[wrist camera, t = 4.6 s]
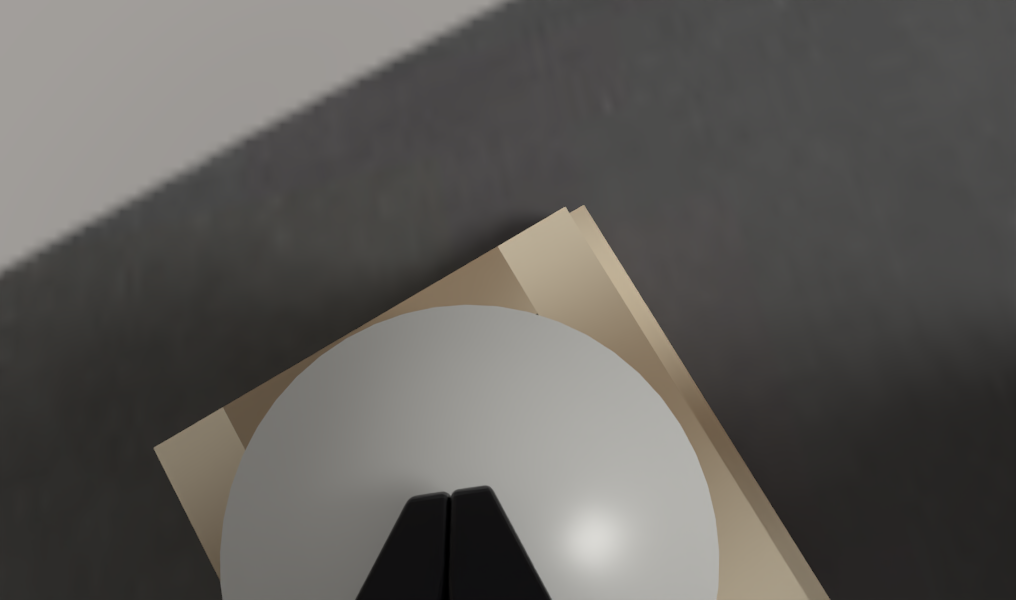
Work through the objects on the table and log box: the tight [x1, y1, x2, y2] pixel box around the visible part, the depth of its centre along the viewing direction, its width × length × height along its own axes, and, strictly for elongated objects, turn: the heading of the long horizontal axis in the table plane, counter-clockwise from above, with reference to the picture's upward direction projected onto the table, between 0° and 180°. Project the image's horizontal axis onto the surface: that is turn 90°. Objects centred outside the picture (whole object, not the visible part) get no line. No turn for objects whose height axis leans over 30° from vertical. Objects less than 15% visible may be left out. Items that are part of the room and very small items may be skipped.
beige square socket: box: [154, 205, 830, 600], centre depth 14 cm, size 8×8×6 cm
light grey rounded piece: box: [220, 305, 719, 600], centre depth 13 cm, size 5×5×6 cm
